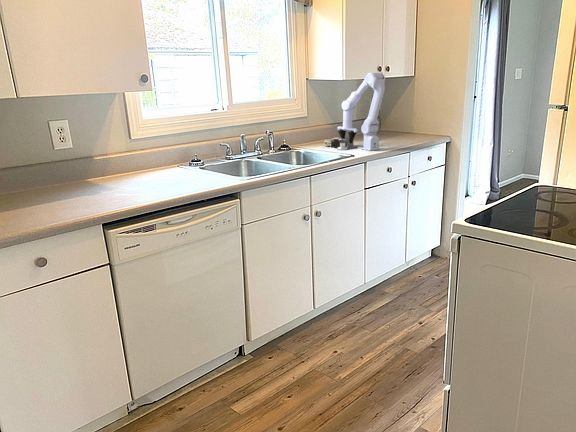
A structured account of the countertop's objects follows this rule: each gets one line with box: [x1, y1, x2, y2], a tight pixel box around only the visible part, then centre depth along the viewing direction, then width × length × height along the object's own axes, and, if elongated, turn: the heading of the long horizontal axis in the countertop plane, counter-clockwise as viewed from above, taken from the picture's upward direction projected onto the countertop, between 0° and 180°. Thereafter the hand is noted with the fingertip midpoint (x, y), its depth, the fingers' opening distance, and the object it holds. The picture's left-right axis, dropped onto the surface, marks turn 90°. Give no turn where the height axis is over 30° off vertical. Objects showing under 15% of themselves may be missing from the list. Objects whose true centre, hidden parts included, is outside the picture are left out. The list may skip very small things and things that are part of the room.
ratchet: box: [337, 143, 358, 151], centre depth 282 cm, size 13×6×4 cm, turn 118°
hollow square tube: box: [342, 137, 355, 146], centre depth 290 cm, size 5×5×5 cm
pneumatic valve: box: [323, 136, 342, 149], centre depth 292 cm, size 6×12×12 cm
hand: (346, 142), depth 291 cm, fingers open, 6 cm apart
